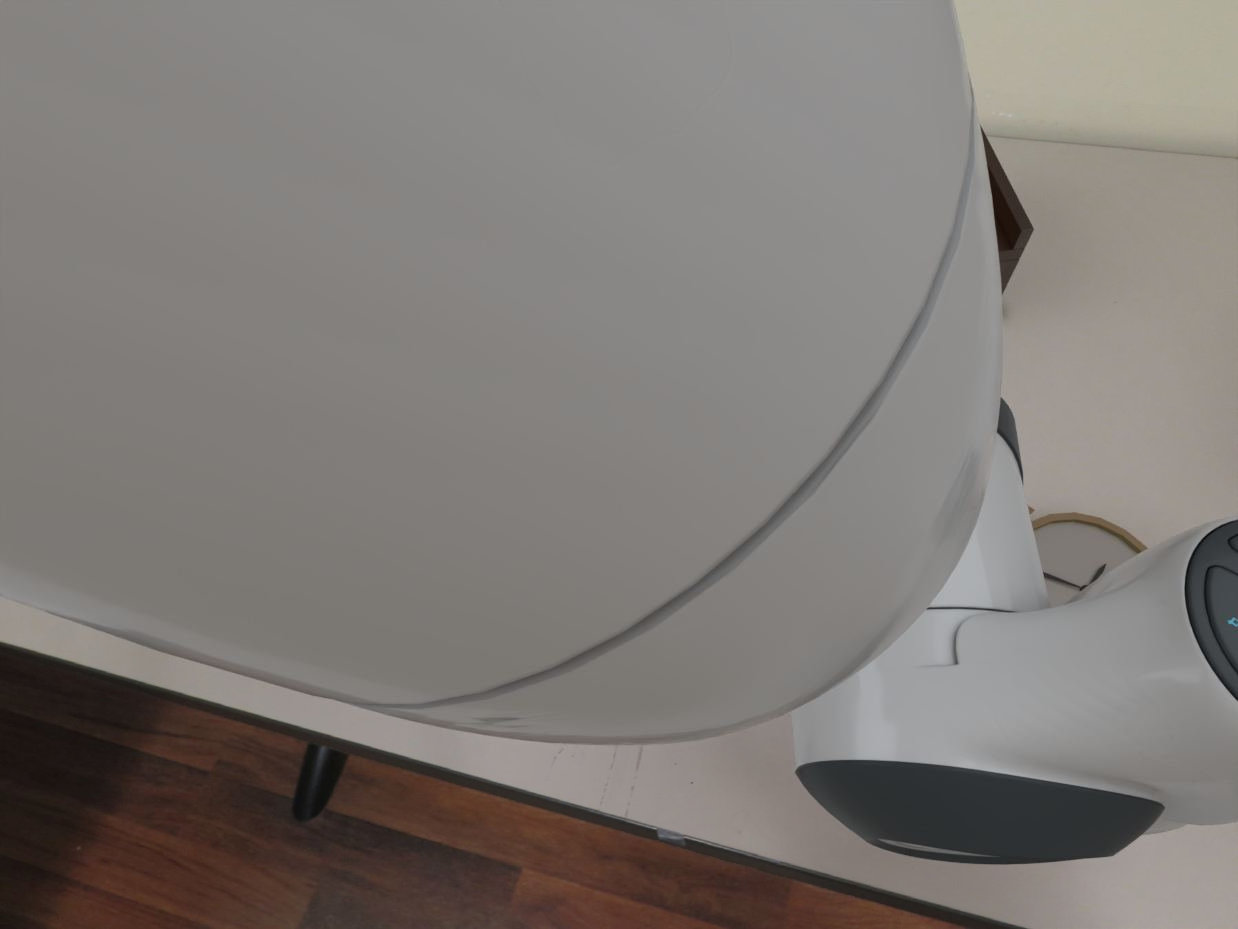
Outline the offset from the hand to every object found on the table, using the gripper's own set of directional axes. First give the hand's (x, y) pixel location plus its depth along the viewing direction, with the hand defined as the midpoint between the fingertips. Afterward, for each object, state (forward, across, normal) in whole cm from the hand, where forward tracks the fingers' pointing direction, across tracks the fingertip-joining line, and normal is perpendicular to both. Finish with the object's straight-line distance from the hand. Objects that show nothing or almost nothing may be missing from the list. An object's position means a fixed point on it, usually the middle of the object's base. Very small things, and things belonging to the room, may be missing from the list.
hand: (986, 772), depth 48 cm
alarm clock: (+5, +10, +11) cm, 16 cm away
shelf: (+5, +10, +43) cm, 45 cm away
